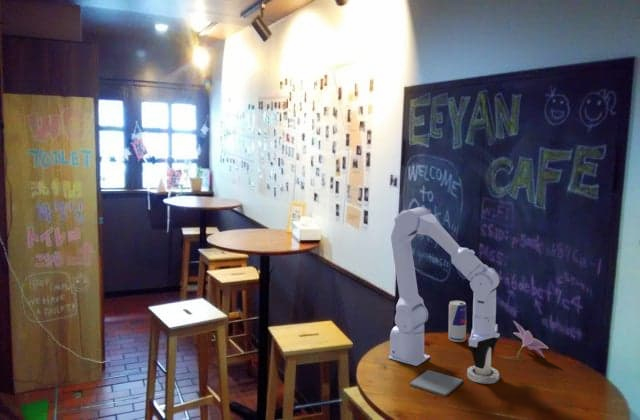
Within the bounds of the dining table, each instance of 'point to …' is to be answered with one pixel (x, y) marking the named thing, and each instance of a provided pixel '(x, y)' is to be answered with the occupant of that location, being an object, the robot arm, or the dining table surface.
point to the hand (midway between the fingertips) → (482, 364)
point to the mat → (436, 382)
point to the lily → (529, 340)
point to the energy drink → (457, 321)
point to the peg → (487, 368)
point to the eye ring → (483, 379)
